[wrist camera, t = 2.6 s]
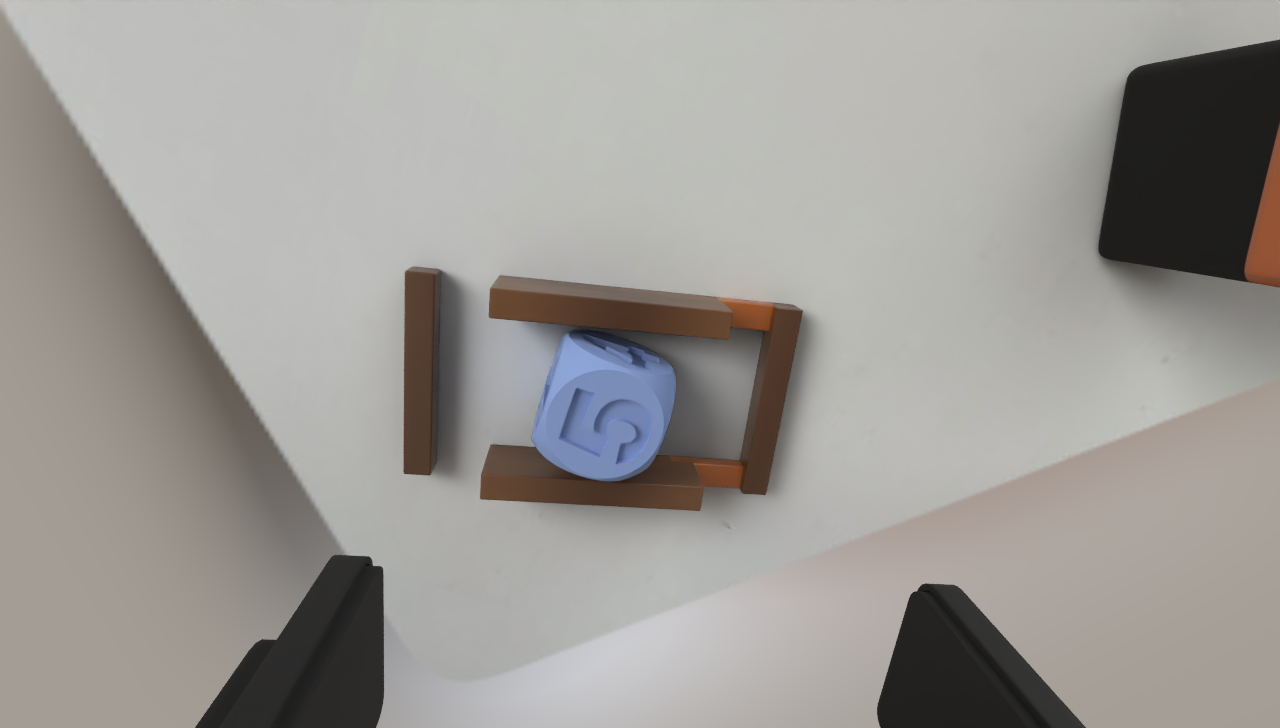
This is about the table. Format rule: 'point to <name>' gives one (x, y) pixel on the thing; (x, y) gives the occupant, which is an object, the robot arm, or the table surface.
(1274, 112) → the battery
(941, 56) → the table surface
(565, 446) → the decorative dice
